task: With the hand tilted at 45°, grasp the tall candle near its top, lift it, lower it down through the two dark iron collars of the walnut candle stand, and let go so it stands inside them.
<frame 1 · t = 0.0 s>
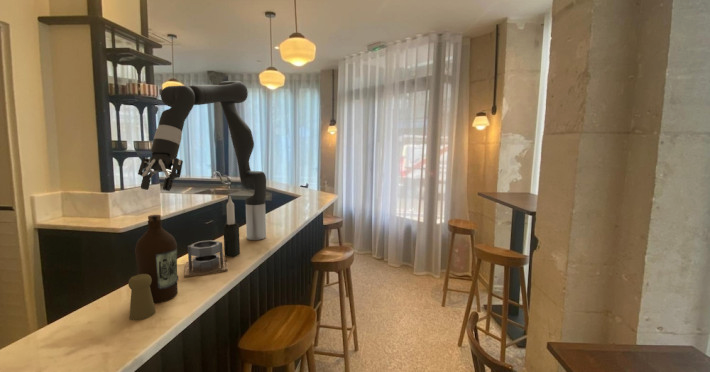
hand: (155, 189, 102), 31 cm above the counter, tool tilted 20°, fingers open, 8 cm apart
candle: (232, 255, 135), on the counter
collar stand: (206, 267, 121), on the counter
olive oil: (160, 297, 97), on the counter
cork: (142, 315, 87), on the counter
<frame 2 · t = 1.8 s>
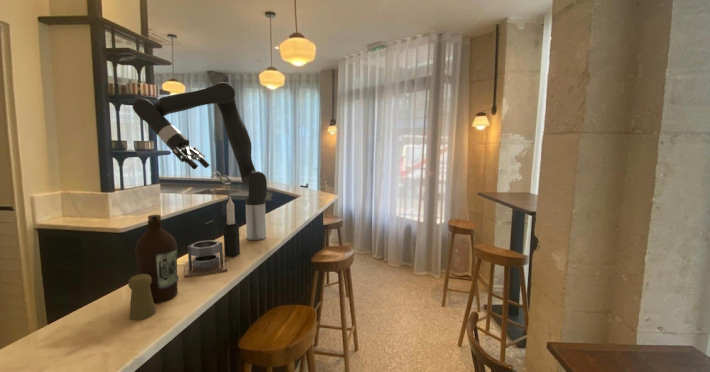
hand: (202, 167, 133), 37 cm above the counter, tool tilted 45°, fingers open, 8 cm apart
nothing on the counter moved.
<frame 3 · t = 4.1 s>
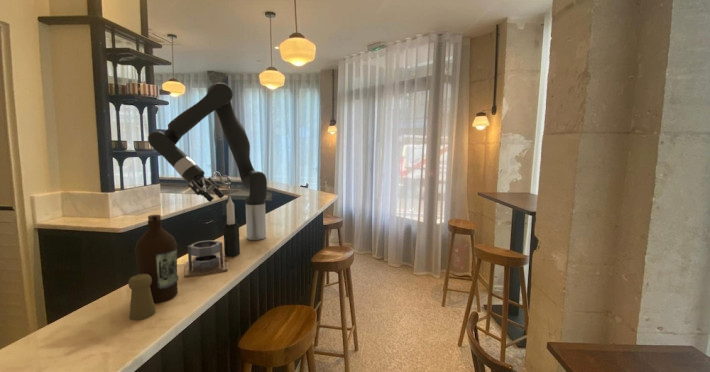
hand: (217, 198, 133), 24 cm above the counter, tool tilted 45°, fingers open, 8 cm apart
nothing on the counter moved.
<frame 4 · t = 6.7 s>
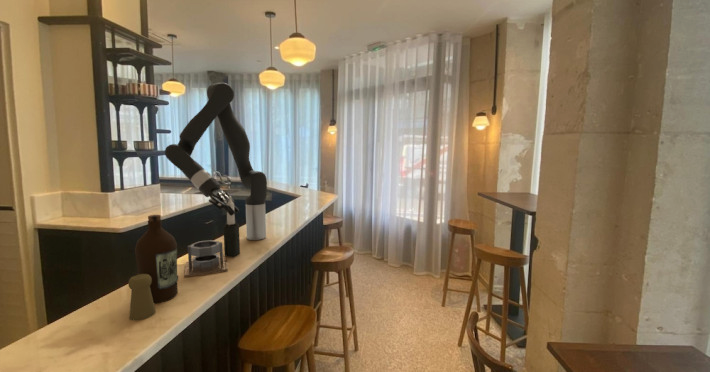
hand: (235, 212, 133), 18 cm above the counter, tool tilted 45°, fingers closed on candle, 3 cm apart
candle: (232, 255, 135), on the counter, touching gripper
everything else where it was.
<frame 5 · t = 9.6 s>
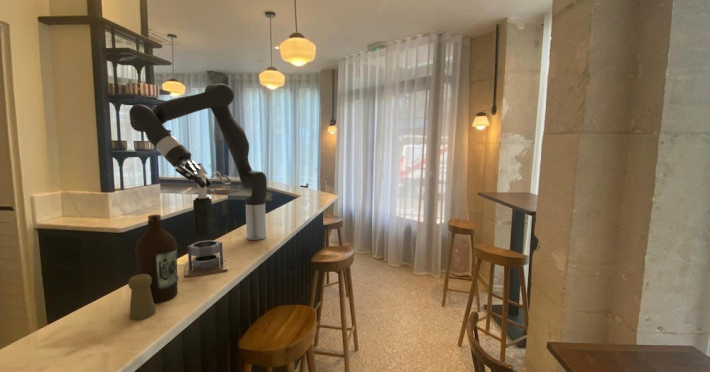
hand: (207, 185, 117), 31 cm above the counter, tool tilted 45°, fingers closed on candle, 3 cm apart
candle: (203, 234, 119), point 13 cm above the counter, touching gripper
everything else where it was.
when the fingers open (20 cm above the counter, at t = 12.5 s): candle stays where it is, resting on collar stand.
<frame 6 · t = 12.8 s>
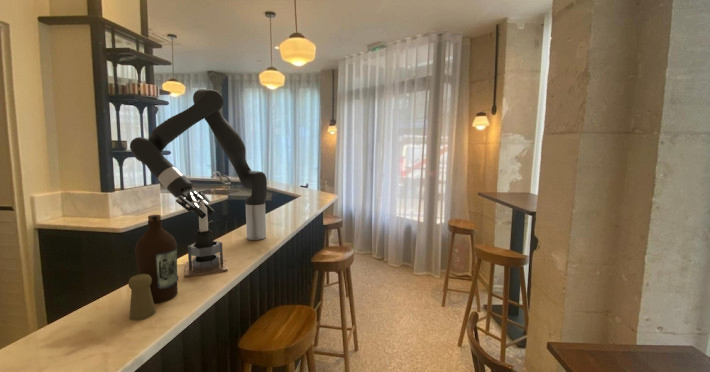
hand: (208, 215, 118), 20 cm above the counter, tool tilted 45°, fingers open, 5 cm apart
candle: (205, 265, 121), point 1 cm above the counter, touching collar stand
everything else where it was.
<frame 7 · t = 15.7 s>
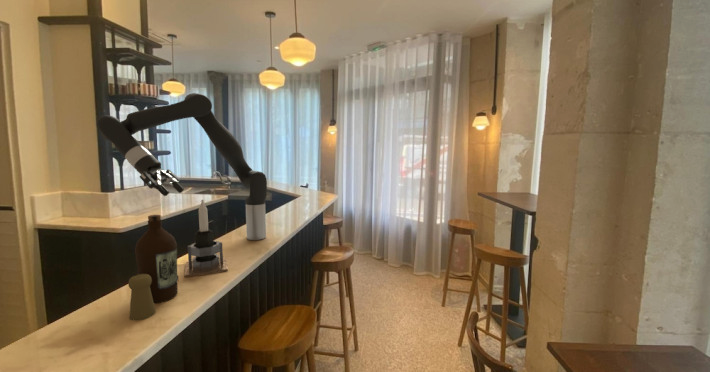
hand: (175, 192, 118), 28 cm above the counter, tool tilted 45°, fingers open, 8 cm apart
nothing on the counter moved.
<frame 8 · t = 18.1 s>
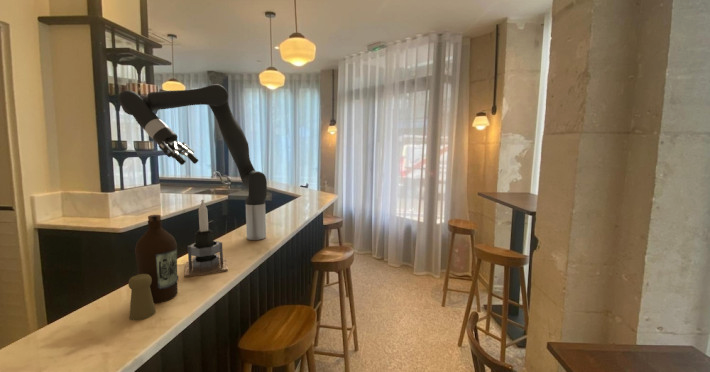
hand: (190, 162, 127), 39 cm above the counter, tool tilted 45°, fingers open, 8 cm apart
nothing on the counter moved.
at the end: candle 0.3 cm off-centre on the collar stand, point 0.6 cm above the collar stand's base; candle tilted 0°; the gripper is holding nothing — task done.
